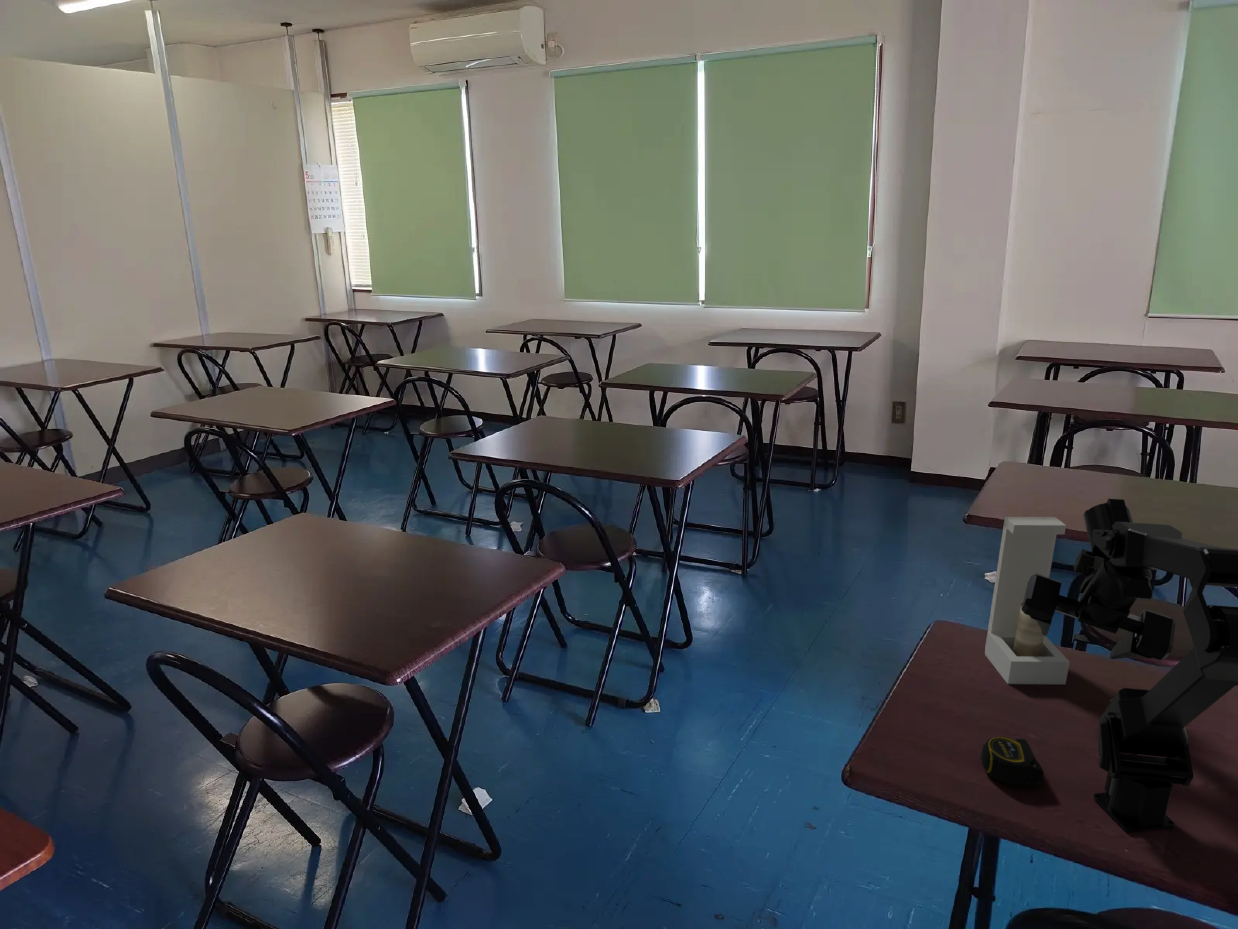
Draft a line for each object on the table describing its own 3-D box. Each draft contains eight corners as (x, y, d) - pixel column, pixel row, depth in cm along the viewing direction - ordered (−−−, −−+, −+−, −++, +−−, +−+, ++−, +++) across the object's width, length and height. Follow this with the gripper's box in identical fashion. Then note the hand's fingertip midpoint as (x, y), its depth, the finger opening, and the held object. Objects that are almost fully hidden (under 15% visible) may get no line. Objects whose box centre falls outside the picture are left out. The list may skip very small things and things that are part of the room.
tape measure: (1042, 793, 110) (1047, 768, 108) (986, 788, 110) (990, 763, 109) (1026, 759, 116) (1030, 736, 115) (973, 755, 117) (977, 731, 116)
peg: (1040, 677, 135) (1051, 614, 132) (1013, 674, 136) (1023, 612, 133) (1034, 664, 139) (1044, 603, 136) (1008, 661, 140) (1017, 600, 137)
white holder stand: (1065, 684, 133) (1091, 542, 126) (1007, 684, 133) (1030, 542, 126) (1035, 650, 143) (1058, 517, 136) (981, 650, 143) (1001, 516, 136)
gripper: (1198, 565, 116) (1153, 623, 128) (1051, 520, 122) (1021, 580, 134) (1191, 631, 110) (1144, 686, 121) (1037, 581, 116) (1007, 637, 128)
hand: (1077, 644), depth 126 cm, fingers open, 9 cm apart
